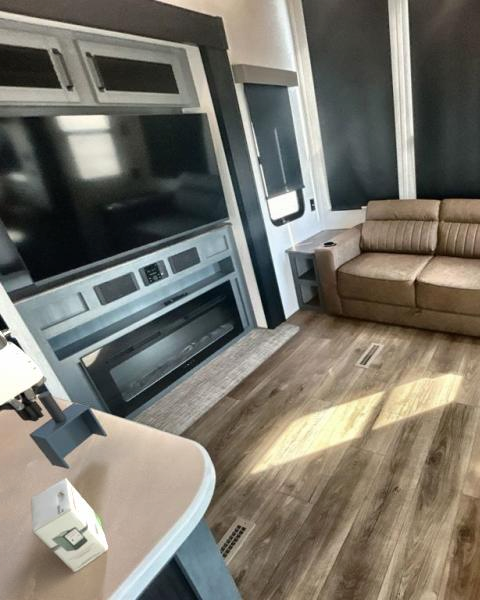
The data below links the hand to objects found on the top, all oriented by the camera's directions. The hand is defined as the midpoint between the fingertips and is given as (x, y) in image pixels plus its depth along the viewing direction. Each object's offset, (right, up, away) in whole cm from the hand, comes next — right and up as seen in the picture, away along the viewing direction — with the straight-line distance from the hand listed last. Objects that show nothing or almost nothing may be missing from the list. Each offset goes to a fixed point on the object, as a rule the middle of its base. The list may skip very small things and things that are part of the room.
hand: (35, 417), depth 78 cm
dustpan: (+6, 0, -2) cm, 6 cm away
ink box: (+24, -17, -15) cm, 33 cm away
